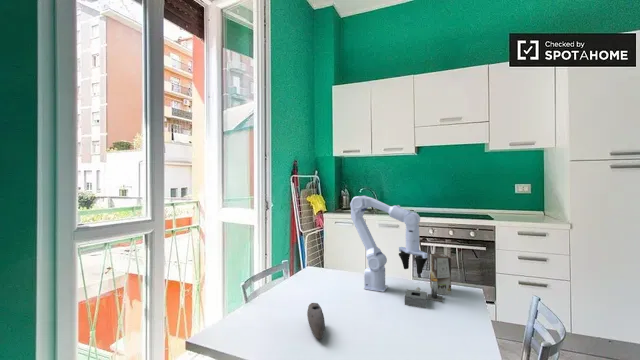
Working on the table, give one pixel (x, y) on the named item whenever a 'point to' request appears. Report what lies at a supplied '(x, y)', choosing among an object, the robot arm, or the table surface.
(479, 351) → the table surface
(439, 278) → the coffee box
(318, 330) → the perforated stone tool
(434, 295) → the key peg
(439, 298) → the mat
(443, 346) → the table surface
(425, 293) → the block
